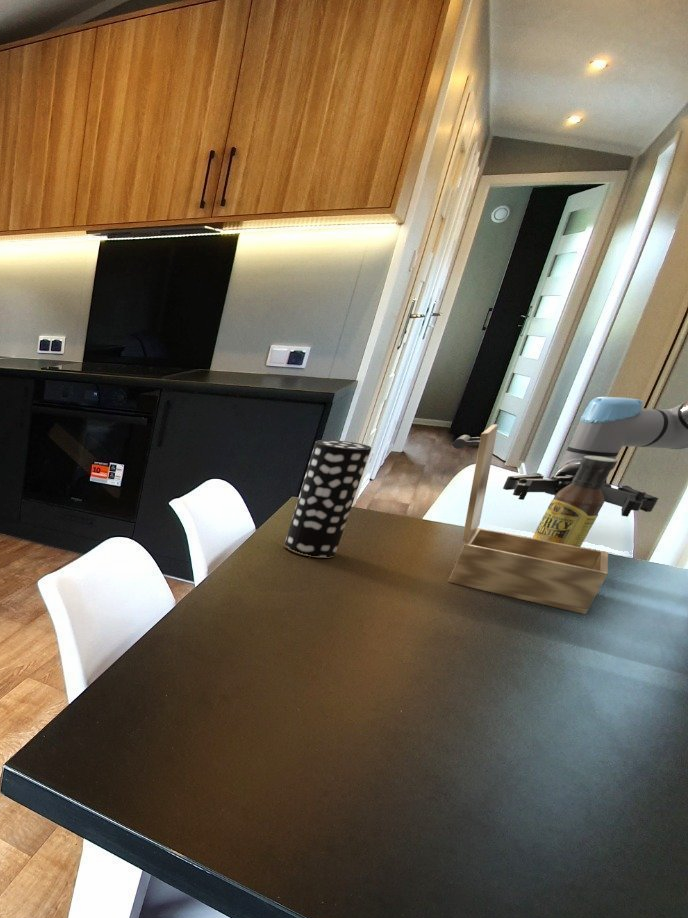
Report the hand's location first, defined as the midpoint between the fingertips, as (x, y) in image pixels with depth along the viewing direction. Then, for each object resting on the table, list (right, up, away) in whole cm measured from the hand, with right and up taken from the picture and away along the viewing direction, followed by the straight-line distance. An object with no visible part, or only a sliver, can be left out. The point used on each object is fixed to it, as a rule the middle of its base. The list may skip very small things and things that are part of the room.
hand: (574, 500), depth 115 cm
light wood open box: (-19, -16, -9) cm, 26 cm away
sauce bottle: (-6, -12, 0) cm, 14 cm away
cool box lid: (-25, +2, -9) cm, 27 cm away
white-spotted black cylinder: (-45, -9, +5) cm, 46 cm away
